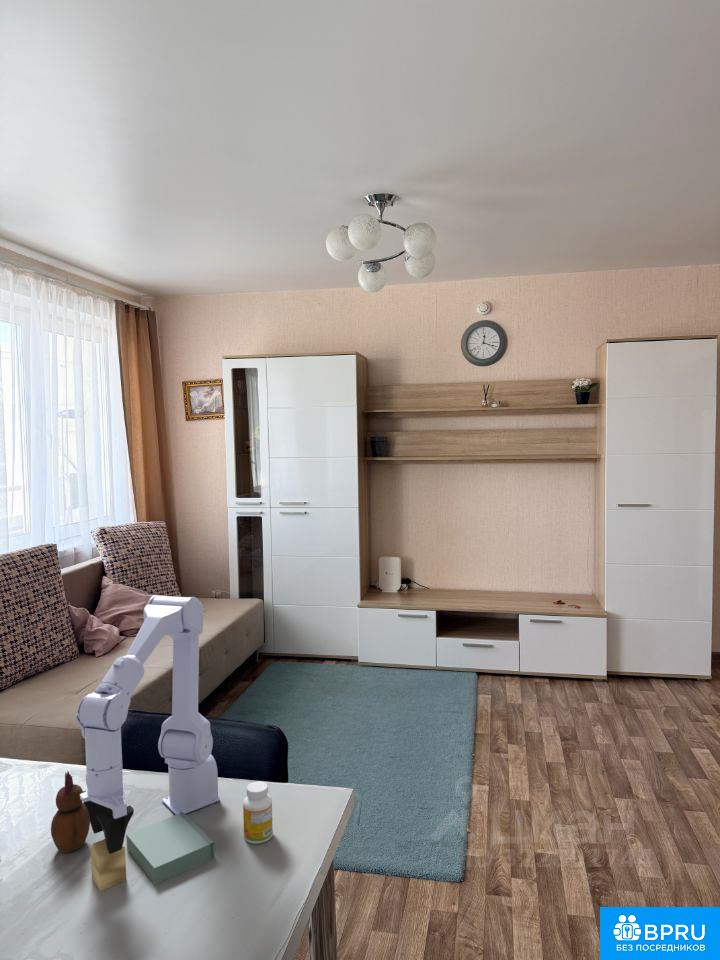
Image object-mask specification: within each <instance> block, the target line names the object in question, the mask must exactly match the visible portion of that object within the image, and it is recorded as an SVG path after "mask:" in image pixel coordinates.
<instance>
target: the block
mask: <svg viewBox="0 0 720 960" xmlns="http://www.w3.org/2000/svg"><path fill="white" fill-rule="evenodd" d="M89 847H90V863H91V864H90V866H91V869H90V870H91V879H92V880H93V882H94V884H95V885H96V886H97V888H98V889H99V891H104V890H105V889H108V888H110V887H112V886H116V885H117V884H120V883H122V882H124V881H127V862H126V861H127V860H126V845H125V844H124V843H123V846H122V849H121V850H119V851H117V852H114V853H111V854H109V852H108V850H107V847H106V841H105V838H103V839H101V840H99V841H96V842H94V843H91V844H90V846H89Z"/></svg>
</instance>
